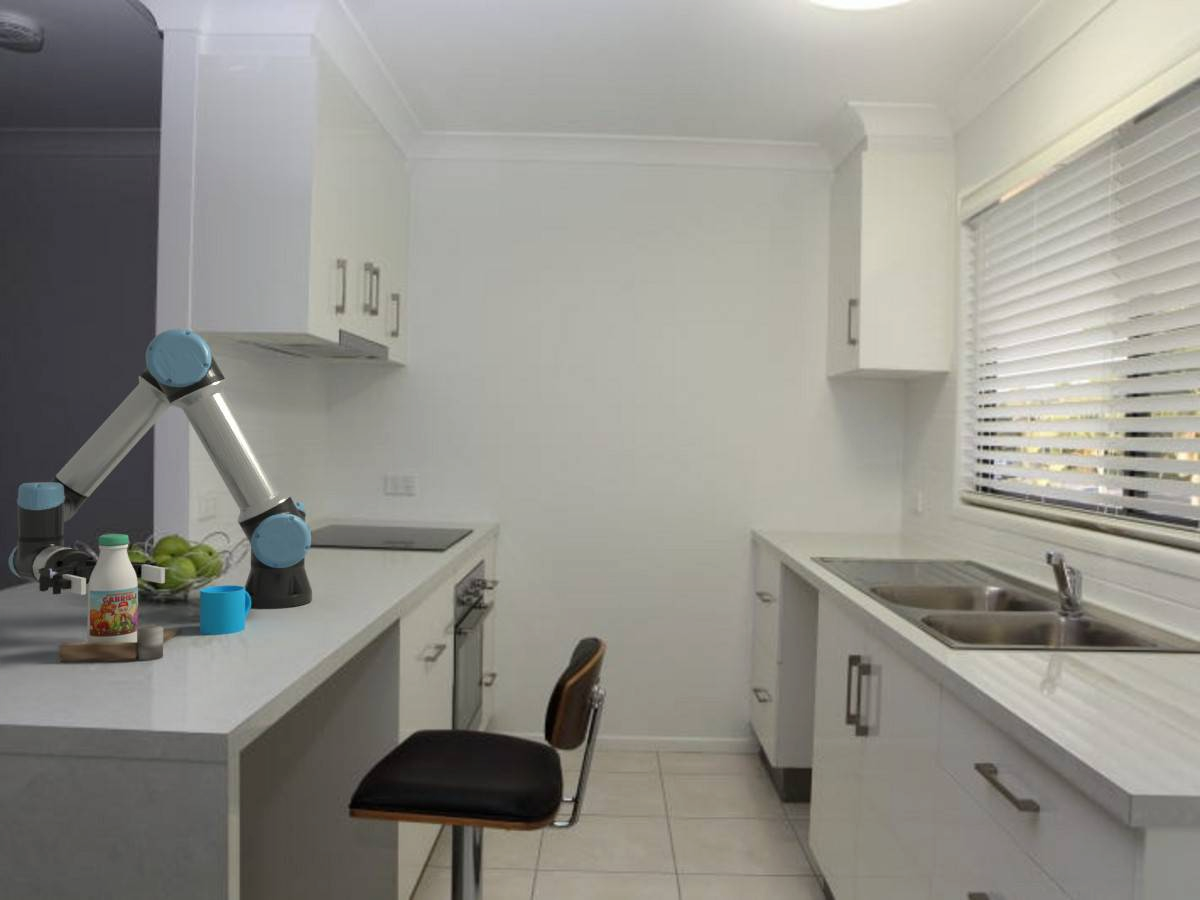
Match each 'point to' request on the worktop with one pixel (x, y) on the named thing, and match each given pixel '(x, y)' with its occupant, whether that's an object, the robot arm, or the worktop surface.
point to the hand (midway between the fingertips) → (124, 580)
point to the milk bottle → (113, 594)
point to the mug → (223, 609)
